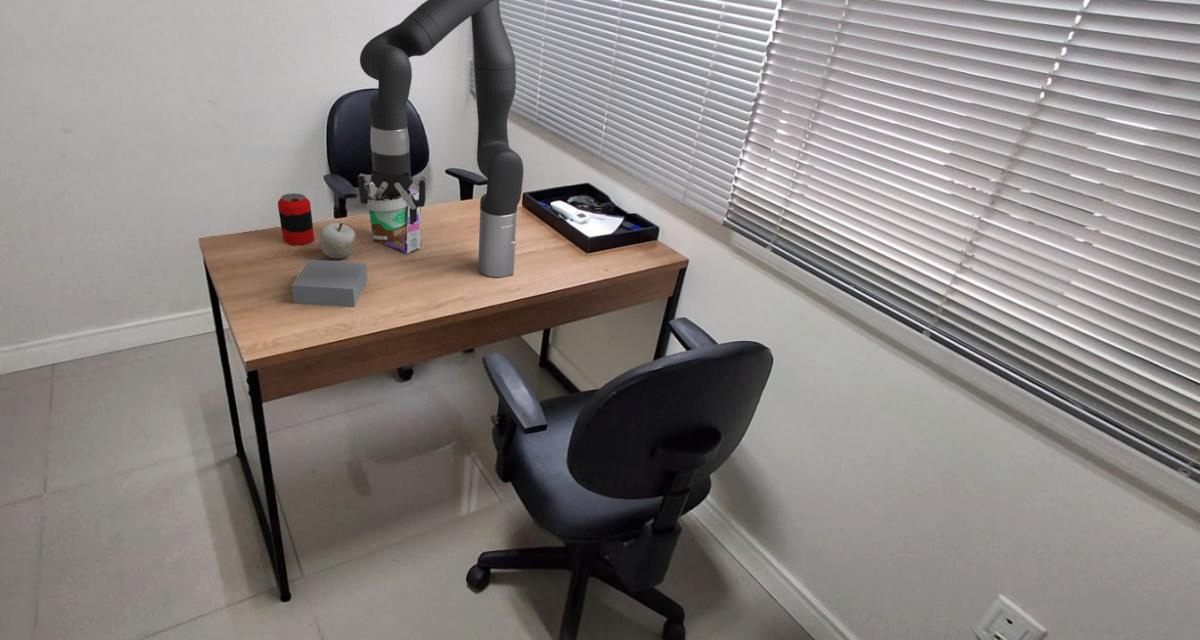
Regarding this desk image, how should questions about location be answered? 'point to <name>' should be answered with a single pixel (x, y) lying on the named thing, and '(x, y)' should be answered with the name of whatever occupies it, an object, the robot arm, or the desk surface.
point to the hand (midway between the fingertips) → (394, 222)
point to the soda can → (296, 219)
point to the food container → (388, 218)
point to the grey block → (330, 283)
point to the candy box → (413, 231)
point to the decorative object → (337, 240)
